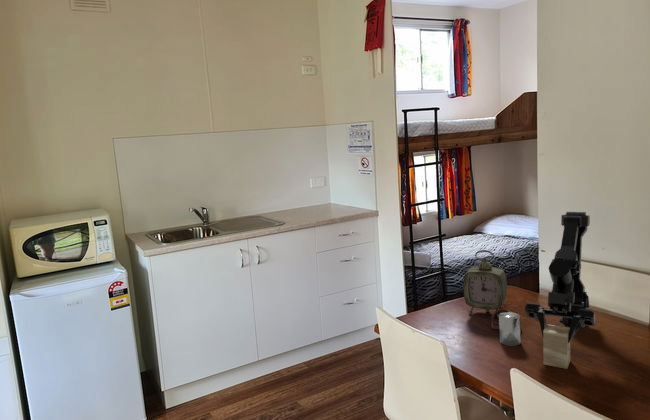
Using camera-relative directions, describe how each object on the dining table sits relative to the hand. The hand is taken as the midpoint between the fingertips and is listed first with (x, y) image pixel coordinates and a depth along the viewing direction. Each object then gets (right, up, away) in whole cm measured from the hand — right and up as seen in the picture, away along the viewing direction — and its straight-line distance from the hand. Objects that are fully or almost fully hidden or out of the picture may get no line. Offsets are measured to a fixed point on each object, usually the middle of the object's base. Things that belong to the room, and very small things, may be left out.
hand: (555, 340), depth 145 cm
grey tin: (-7, -5, +19) cm, 20 cm away
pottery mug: (-4, -4, +30) cm, 30 cm away
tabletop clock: (-6, -2, +44) cm, 44 cm away
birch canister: (+1, -7, +2) cm, 8 cm away
